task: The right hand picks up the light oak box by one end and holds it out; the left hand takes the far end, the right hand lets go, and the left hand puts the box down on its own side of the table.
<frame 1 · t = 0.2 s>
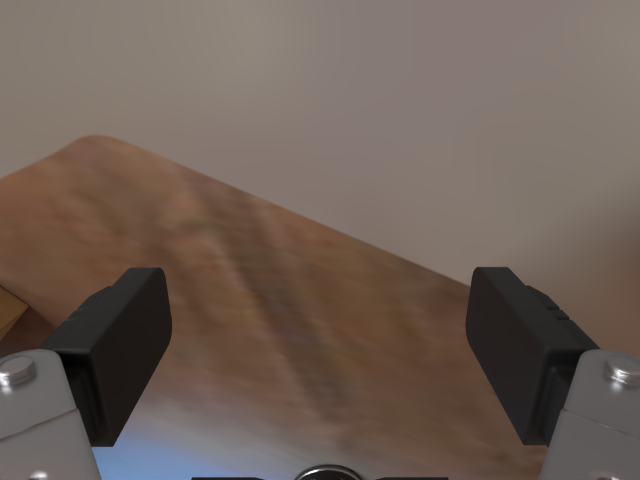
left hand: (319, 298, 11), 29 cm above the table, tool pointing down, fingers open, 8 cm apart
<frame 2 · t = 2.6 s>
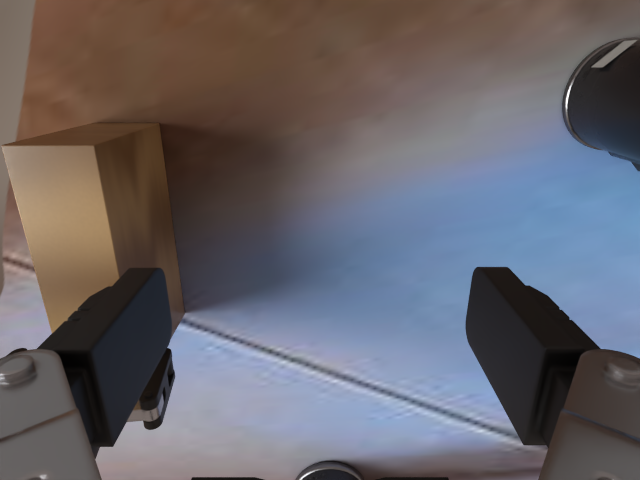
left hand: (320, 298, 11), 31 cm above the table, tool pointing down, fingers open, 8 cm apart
box: (142, 226, 43), on the table, touching right hand
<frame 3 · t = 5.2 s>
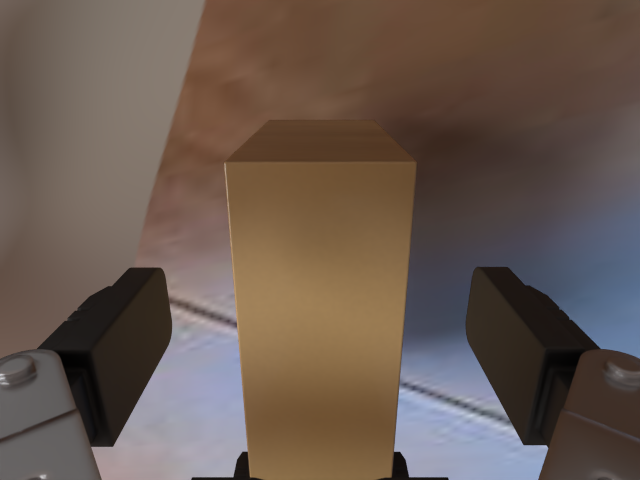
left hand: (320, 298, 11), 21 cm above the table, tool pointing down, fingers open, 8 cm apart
box: (321, 276, 29), point 5 cm above the table, touching right hand
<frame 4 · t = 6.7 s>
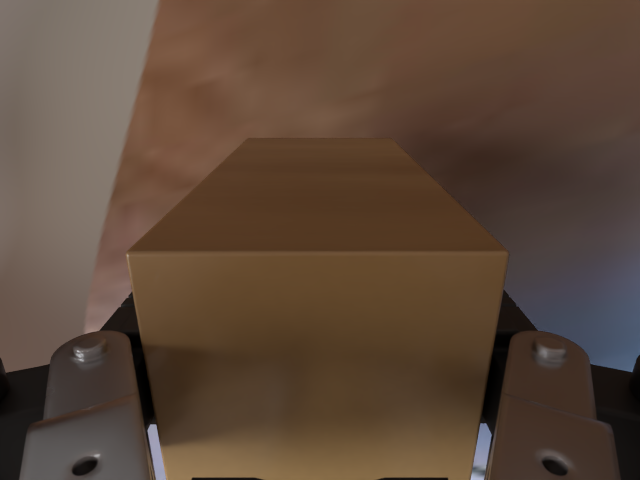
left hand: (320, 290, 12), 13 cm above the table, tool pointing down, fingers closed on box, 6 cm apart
box: (319, 339, 22), point 5 cm above the table, touching left hand, right hand
when the right hand's fingers open (13 cm above the table, at t = 7.9 s): box moves 2 cm, held by the left hand.
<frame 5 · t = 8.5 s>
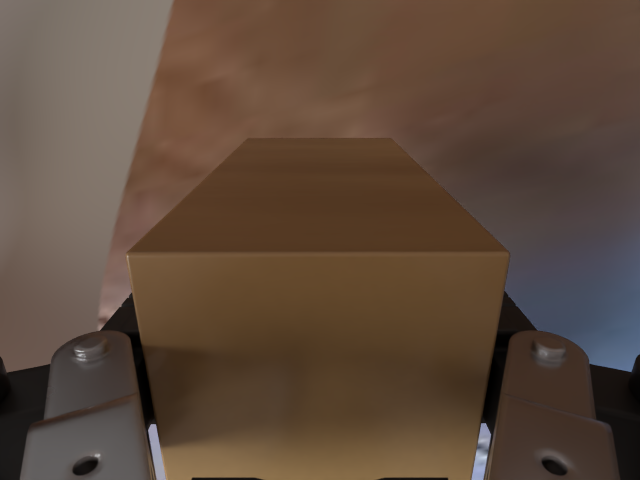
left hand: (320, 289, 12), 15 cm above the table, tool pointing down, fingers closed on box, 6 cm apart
box: (319, 340, 22), point 7 cm above the table, touching left hand
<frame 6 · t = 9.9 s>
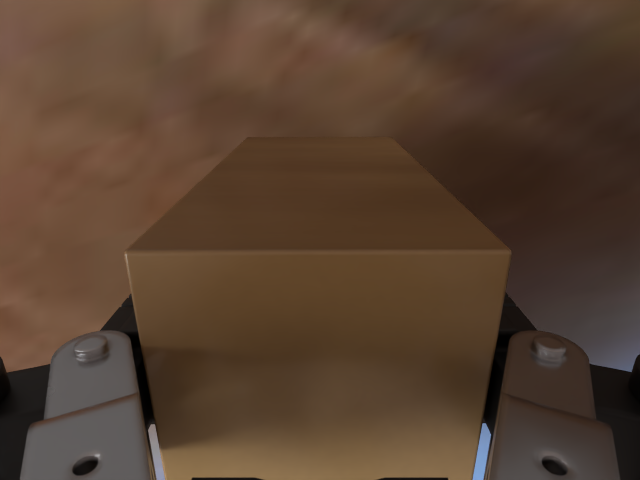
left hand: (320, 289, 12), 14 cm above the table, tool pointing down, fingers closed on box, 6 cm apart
box: (319, 339, 22), point 6 cm above the table, touching left hand
when the left hand's fingers open (9 cm above the table, at t = 10.8 s): box drops 1 cm, on the table.
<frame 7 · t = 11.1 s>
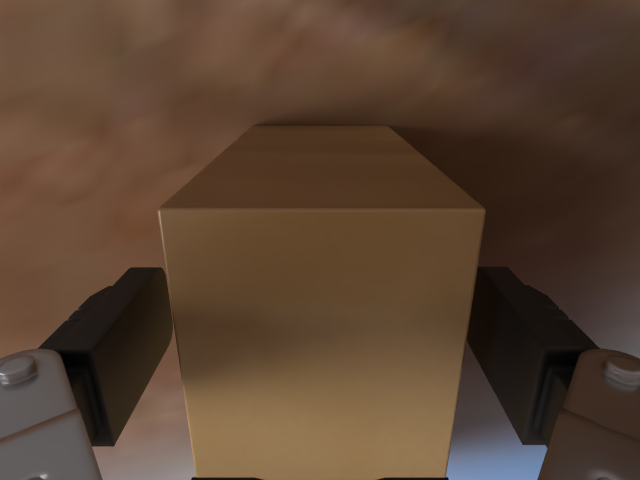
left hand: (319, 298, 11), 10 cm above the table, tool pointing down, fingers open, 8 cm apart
box: (319, 318, 23), on the table
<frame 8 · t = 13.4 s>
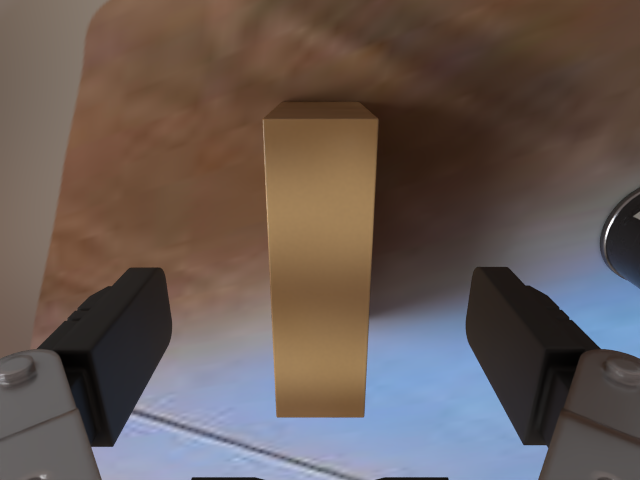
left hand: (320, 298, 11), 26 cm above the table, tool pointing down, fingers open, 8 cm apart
box: (320, 222, 38), on the table
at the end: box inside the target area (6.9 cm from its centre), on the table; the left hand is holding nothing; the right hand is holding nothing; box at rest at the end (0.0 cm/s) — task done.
